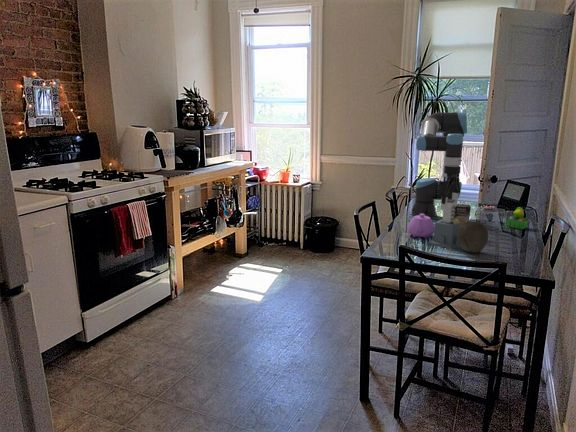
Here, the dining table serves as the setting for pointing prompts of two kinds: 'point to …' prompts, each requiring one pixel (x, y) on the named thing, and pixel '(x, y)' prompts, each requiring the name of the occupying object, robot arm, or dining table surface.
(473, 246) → the brown round ball
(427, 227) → the teapot
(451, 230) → the stand base
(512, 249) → the dining table surface
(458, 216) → the coffee box
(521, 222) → the fruit basket
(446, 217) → the column
